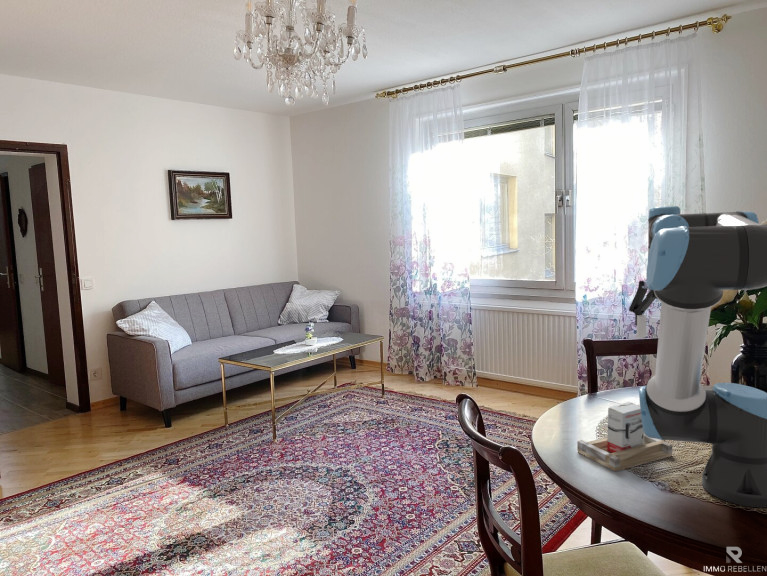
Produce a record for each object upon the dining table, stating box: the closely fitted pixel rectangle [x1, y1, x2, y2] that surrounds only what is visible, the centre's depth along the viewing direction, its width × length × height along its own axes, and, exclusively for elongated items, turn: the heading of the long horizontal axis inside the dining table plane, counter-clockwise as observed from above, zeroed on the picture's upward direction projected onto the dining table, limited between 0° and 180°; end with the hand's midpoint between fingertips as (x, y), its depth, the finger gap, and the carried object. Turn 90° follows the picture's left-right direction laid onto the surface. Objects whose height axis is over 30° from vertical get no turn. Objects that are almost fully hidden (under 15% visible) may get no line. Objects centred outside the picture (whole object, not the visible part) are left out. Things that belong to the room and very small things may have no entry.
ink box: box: [607, 401, 644, 453], centre depth 142 cm, size 8×5×12 cm, turn 117°
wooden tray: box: [576, 433, 673, 472], centre depth 143 cm, size 13×19×3 cm
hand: (662, 342), depth 150 cm, fingers open, 13 cm apart
